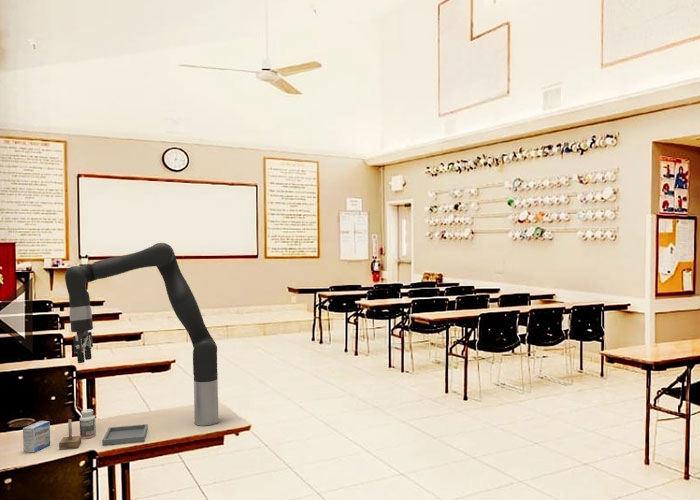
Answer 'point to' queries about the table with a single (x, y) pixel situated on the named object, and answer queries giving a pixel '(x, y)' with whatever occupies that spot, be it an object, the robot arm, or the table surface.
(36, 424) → the medicine box
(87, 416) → the pill bottle
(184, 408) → the table surface
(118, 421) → the table surface
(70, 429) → the stand
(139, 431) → the tray
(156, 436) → the table surface
